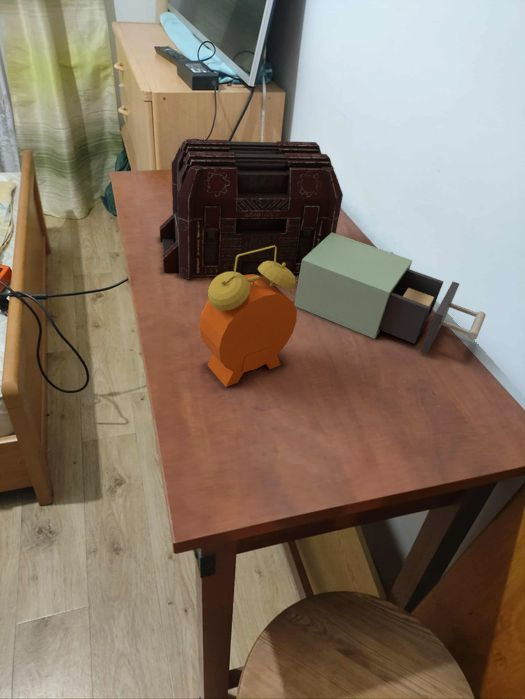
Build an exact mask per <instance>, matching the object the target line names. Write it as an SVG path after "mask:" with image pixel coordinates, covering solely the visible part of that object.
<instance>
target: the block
mask: <svg viewBox="0 0 525 699" xmlns="http://www.w3.org/2000/svg"><path fill="white" fill-rule="evenodd" d="M403 297H405V298H408V299H411V300H413V301H416V302H419V303H421V304H424V305H427V306H429V309H430V307H431V304H432V302H433V299H434V297H433V296H430V295H427V294H424V293H422V292H419V291H416V290H413V289H411V288H408V289H407V291H406V292H405V294H404V295H403ZM429 309H428V312H429ZM428 312H427V315H428ZM427 315H426V317H427ZM426 317H425V319H426ZM424 321H425V320H424ZM423 323H424V322H423Z"/></svg>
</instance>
